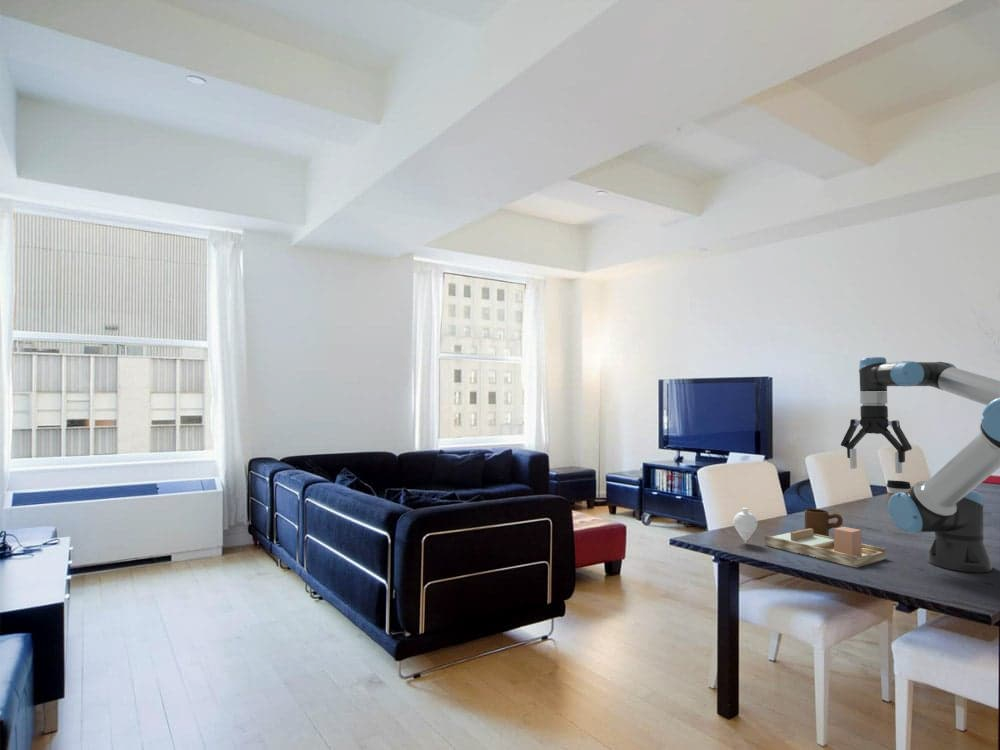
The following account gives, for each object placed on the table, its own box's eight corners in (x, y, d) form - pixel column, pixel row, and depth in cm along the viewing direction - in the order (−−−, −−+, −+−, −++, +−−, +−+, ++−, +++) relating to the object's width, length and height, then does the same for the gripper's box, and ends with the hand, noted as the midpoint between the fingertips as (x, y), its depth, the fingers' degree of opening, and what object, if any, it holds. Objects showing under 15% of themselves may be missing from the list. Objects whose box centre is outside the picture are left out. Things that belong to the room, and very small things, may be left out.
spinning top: (728, 541, 205) (728, 507, 206) (745, 539, 208) (745, 505, 209) (745, 547, 198) (744, 511, 199) (762, 544, 201) (762, 509, 201)
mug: (844, 538, 210) (844, 511, 210) (841, 542, 204) (840, 515, 204) (807, 533, 217) (807, 507, 217) (802, 537, 211) (802, 511, 211)
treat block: (861, 555, 185) (861, 530, 185) (852, 558, 182) (851, 532, 182) (843, 551, 189) (843, 526, 190) (834, 554, 187) (833, 528, 187)
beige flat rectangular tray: (885, 558, 184) (885, 548, 184) (856, 567, 175) (855, 556, 175) (794, 538, 210) (794, 529, 210) (764, 545, 201) (764, 535, 201)
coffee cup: (882, 515, 248) (881, 479, 248) (900, 514, 249) (900, 479, 249) (897, 519, 239) (897, 482, 240) (916, 519, 240) (916, 482, 241)
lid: (835, 541, 196) (835, 532, 196) (809, 548, 189) (809, 537, 189) (795, 533, 208) (795, 524, 208) (769, 538, 201) (769, 529, 201)
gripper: (922, 405, 184) (924, 473, 183) (840, 404, 205) (841, 465, 204) (912, 405, 180) (914, 475, 179) (828, 404, 200) (830, 467, 200)
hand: (875, 470), depth 191 cm, fingers open, 13 cm apart
